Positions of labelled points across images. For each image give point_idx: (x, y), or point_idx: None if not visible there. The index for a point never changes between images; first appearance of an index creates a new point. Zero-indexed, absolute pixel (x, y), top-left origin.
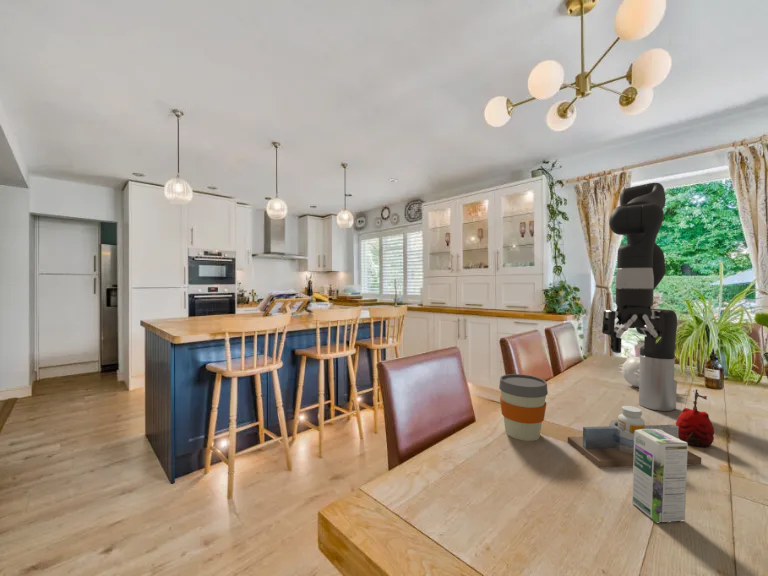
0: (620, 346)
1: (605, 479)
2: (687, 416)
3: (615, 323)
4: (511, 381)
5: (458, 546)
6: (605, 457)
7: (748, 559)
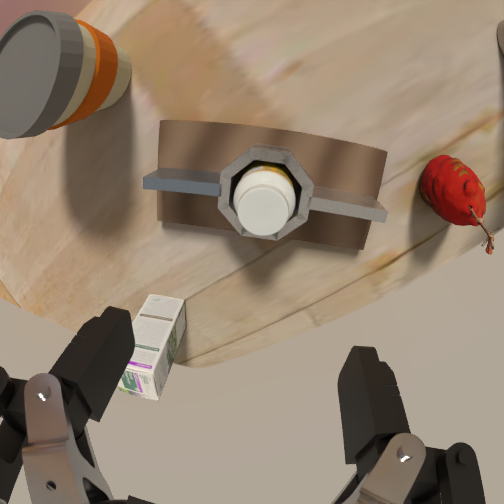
0: (116, 377)
1: (150, 246)
2: (451, 199)
3: (32, 482)
4: (4, 69)
5: (11, 290)
6: (177, 211)
7: (199, 363)
